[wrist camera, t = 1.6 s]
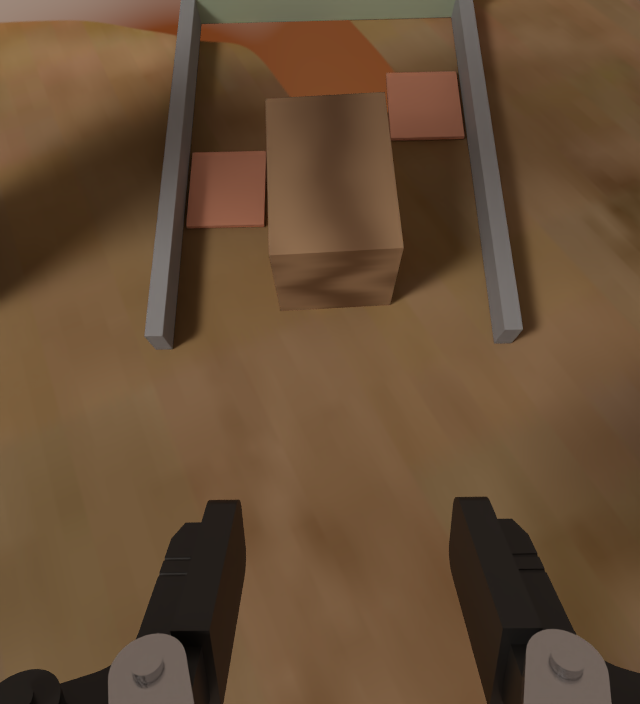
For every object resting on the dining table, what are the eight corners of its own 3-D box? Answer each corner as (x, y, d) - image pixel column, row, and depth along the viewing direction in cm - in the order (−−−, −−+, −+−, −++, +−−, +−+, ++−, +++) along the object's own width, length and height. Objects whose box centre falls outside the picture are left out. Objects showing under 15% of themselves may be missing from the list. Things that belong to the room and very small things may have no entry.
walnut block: (280, 311, 40) (268, 255, 32) (276, 176, 44) (265, 98, 36) (389, 305, 40) (403, 248, 32) (375, 170, 44) (384, 92, 36)
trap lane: (155, 349, 39) (131, 321, 34) (189, 14, 50) (174, -41, 45) (511, 343, 38) (536, 314, 33) (463, 7, 50) (476, -50, 45)
